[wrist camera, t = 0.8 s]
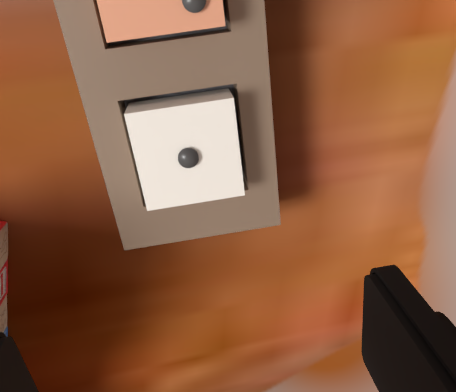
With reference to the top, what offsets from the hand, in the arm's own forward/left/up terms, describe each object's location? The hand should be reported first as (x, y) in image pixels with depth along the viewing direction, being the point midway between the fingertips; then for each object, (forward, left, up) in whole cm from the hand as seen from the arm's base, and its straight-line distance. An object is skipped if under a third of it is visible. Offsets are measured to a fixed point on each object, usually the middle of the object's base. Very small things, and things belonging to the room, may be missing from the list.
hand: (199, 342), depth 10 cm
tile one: (0, 0, -15) cm, 15 cm away
